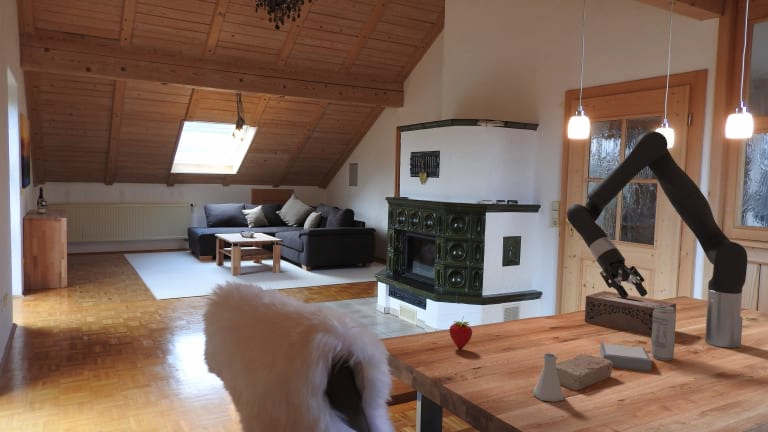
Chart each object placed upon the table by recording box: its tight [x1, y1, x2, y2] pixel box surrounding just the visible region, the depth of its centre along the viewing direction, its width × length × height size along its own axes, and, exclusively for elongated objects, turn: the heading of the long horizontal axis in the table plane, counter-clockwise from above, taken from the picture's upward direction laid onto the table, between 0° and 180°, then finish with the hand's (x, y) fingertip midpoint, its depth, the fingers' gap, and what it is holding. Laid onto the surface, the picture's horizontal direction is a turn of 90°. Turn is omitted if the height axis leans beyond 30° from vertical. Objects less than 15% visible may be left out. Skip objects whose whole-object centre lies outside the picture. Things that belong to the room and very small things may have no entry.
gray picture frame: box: [599, 342, 652, 372], centre depth 153 cm, size 12×12×3 cm
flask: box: [533, 352, 565, 403], centre depth 126 cm, size 7×7×10 cm
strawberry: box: [448, 315, 473, 350], centre depth 161 cm, size 6×8×10 cm
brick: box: [556, 353, 613, 391], centre depth 139 cm, size 17×8×5 cm, turn 128°
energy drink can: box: [650, 305, 677, 361], centre depth 157 cm, size 6×6×15 cm
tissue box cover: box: [584, 290, 677, 337], centre depth 192 cm, size 26×14×10 cm, turn 43°
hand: (635, 296), depth 165 cm, fingers open, 8 cm apart
